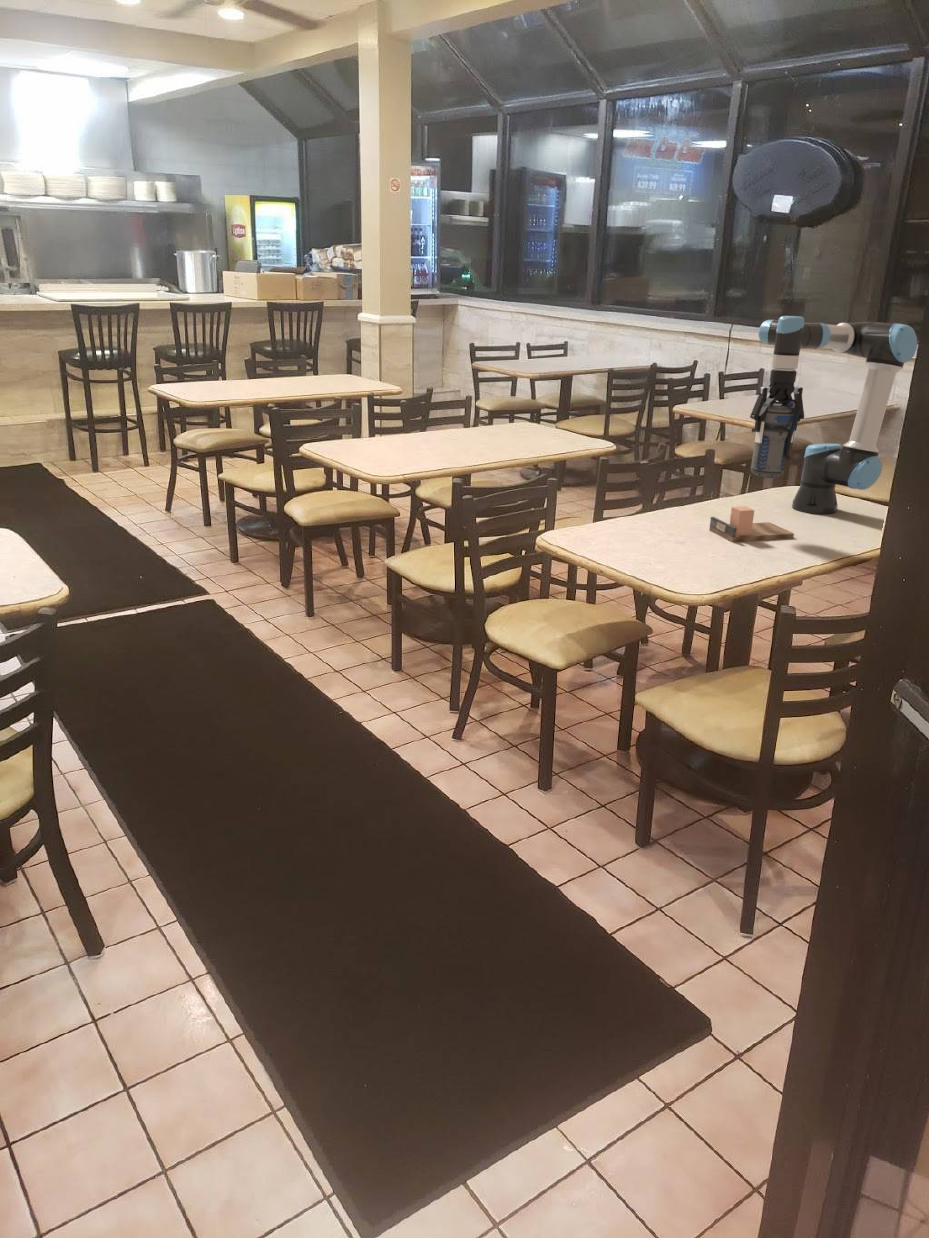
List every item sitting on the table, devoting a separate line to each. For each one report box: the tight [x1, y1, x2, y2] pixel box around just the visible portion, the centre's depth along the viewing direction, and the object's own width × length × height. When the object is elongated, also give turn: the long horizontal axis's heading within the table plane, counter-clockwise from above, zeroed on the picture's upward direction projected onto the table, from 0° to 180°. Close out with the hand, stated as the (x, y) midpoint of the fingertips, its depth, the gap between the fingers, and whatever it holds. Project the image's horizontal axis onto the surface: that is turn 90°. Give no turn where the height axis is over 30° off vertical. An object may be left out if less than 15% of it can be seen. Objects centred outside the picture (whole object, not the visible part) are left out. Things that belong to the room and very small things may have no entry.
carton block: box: [729, 505, 755, 536], centre depth 300 cm, size 5×5×8 cm
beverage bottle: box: [750, 395, 802, 479], centre depth 297 cm, size 10×13×25 cm
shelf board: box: [708, 516, 795, 543], centre depth 305 cm, size 22×14×4 cm, turn 106°
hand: (773, 442), depth 297 cm, fingers closed on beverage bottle, 10 cm apart
